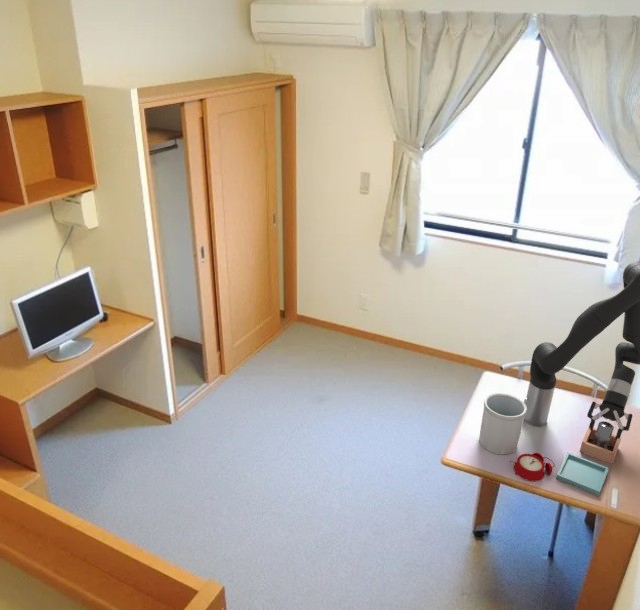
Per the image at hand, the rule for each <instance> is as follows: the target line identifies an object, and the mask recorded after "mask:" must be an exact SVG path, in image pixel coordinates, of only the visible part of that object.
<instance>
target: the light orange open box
mask: <svg viewBox="0 0 640 610" xmlns="http://www.w3.org/2000/svg"><path fill="white" fill-rule="evenodd" d="M596 431H597V428H596V427H593V430H592V431H590V428H589V426H588V427H587V430H586V433H585V434H584V436H583V439H582V441H581V445H580V448H579V452H580V453H581V452H582V454H584V455H587V456H589V457H592V458H594V459H597V460H600V461H603V462H605V463H608V464H610V463H611V464H613V463H614V461H615V459H616V455H617V453H618V450H619V446H620V444H621V442H622V438H621V437H620V439H617V440H615V437H616V434H613V433H612V435H611V438H610V442H609V445H608V447H612V448H613V450H611V449H610V450H609V449H608V448H607V449H604V448H602V447H599V446H596V445H593V443H591V442H589V440H593V441H594V438H595V435H596Z"/></svg>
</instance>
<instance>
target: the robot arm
mask: <svg viewBox="0 0 640 610" xmlns="http://www.w3.org/2000/svg"><path fill="white" fill-rule="evenodd" d="M622 282H623V289H622V290H621V291H620V292H618V293H617V294H615V295H613V296H611V297H609V298H606V299H602V300H600V301H598V302H595V303H593V304H591V305H590V306H588V308H586V309H585V310H584V311H582V312H581V314H579V316H577V318H576V319H575V321H574V322H573V324H572V327H571V330H570V331H569V333H568V334H567V337H566V338H565V340H563V342H562V343H560V344H559V345H558V346H556V345H555V344H554V343H552V342H548V341H546V342H542V343H540V344H538V345H537V346H536V347H535V349H534V350H533V353H532V356H531V361H530V368H529V374H530V379H529V384H528V388H527V393H526V396H525V398H524V400H523V402H524V403H525V405H526V407H527V411H526V414H525V417H524V421H523V422H526V423H527V424H528V425H531V426H533V427H542V426H545V425H546V424H547V422H548V418H549V414H550V408H551V405H552V400H553V397H554V394H555V392H554V391H555V389H556V384H557V377H556V374H558V373H559V372H560V371H561V370H563V369H564V368H565V367H566V366H567V365H568V363H570V362H571V360H573V358H575V356H577V354H578V353H579V352H580V351H581V350H582V349H583V348H584V347H586V345H588V344H589V343H590V342H591V341H592V340H593V339H594V338H596V337H597V336H598V335H600V334H601V333H602V332H603V331H605V329H607V328H609V326H610V325H611V324H612V323H613V322H614V321H616V320H617V319H618V318H619V317H620V316H622V315H623V314H624V316H623V325H622V338H623V339H624V341H626V342H624V341H623V342H619V343H618V344H617V345H616V347H615V349H614V350H615V353H614V355H615V357H614V358H615V362H614V364H615V365H614V369H613V372H612V375H611V379H610V380H609V383H608V385H607V388H606V391H605V394H604V396H603V400H602V402H601V403H597V402H596V401H592V402H591V404H590V407H589V409H588V412H587V416H586V417H587V418H588V419H590V422H589V425H588V427H589V428H590V431H592V430H593V428H595V424H596V421H597V420H598V419H601V418H603V419H605V420H609V421H612V422H616V424H617V426H618V429H617V432H616V434H615V435H616V437H615V440H617V439H620V438H621V437H622V433H623V432H624V431H626V432H628V431H630V427H631V423H632V419H633V414H632V413H627V412H625V409H626V406H627V404H628V403H627V402H628V399H629V397H630V394H631V389H632V385H633V382H634V379H635V376H636V371H635V370H634V369H633V368H631V367H630V366H627V365H625V364H624V362H626V363H630V364H634V365H640V261H633V262H630V263H629V264H627V266H626V267H625V268H624V270H623V273H622ZM598 408H599V411H600V412H598V413H596V414H595V415H593V413H594V411H595V410H597V409H598ZM623 417H624V418H625V420H627V421H626V425H625V426H623V424H622V421H621V419H622V418H623Z"/></svg>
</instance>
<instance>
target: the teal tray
mask: <svg viewBox="0 0 640 610" xmlns="http://www.w3.org/2000/svg"><path fill="white" fill-rule="evenodd" d="M609 469H610V468H609V467H607V466H605V465H603V464H599V463H597V462H594V461H592V460H589V459H587V458H584V457H581V456H580V455H576V454H574V453H570V452H566V454H565V456H564V458H563V461H562V463H561V466H559V469H558V471H557V474H556V477H555V480H558V481H559V482H562V483H565V484H567V485H569V486H572V487H575V488H577V489H580V490H582V491H585V492H587V493H589V494H592V495H594V496H597V497H599V496H600V494H601V491H602V489H603V485H604V482H605V480H606V477H607V474H608V471H609Z"/></svg>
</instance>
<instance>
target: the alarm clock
mask: <svg viewBox="0 0 640 610" xmlns="http://www.w3.org/2000/svg"><path fill="white" fill-rule="evenodd" d="M545 459H548V460H549V461H551V463H552V464H553V466H552V464H551V463H550V462H544V460H545ZM509 463H514V464H513V471H514V474H515V476H519V477H520V478H522V479H523V480H525V481H529V482H539V481H542V480H543V479H544V478H545V476H546V475H545V472H547V473H548V476H552V473H553V470H554V467H555V463H554V461H553V460H552V459H551V458H549V457H546V456H543V455H542V454H541V453H539V452H534V453H532V454H531V453H523V454H520V455H518V456H517V458H516V461H512V460H509Z"/></svg>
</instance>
